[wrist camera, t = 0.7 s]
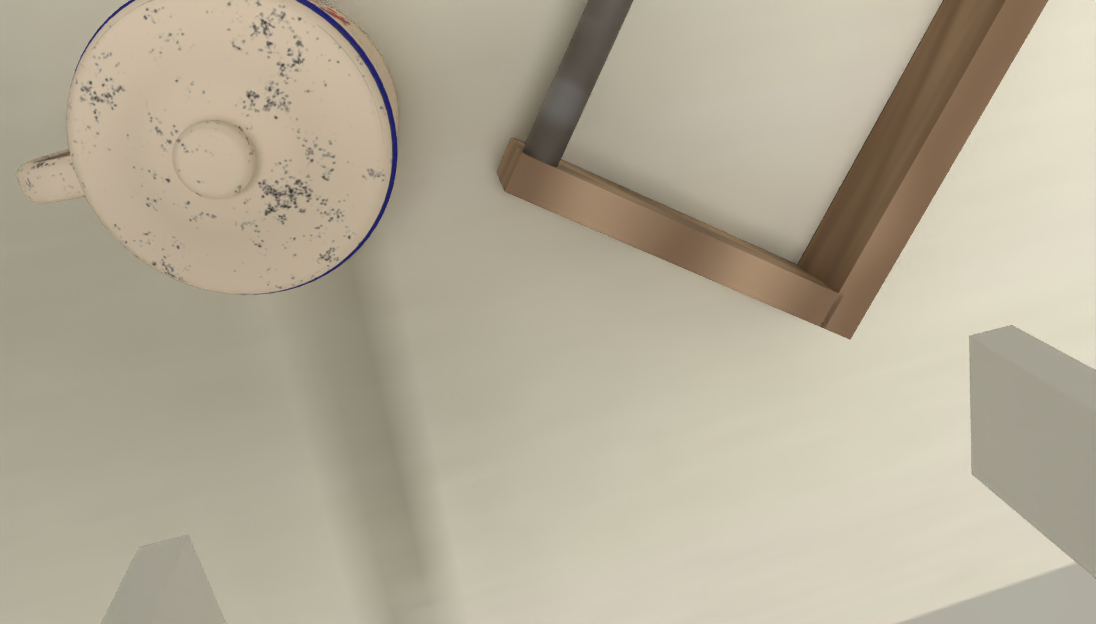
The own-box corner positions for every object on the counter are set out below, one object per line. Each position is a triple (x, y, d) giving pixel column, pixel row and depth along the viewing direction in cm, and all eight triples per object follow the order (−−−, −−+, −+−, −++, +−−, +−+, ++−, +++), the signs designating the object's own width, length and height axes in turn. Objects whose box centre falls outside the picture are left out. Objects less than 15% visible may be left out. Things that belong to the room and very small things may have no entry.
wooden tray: (496, 171, 34) (504, 191, 30) (703, -301, 30) (742, -347, 26) (809, 307, 38) (850, 339, 34) (1034, -94, 33) (1110, -107, 30)
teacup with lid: (368, -40, 31) (334, -68, 20) (431, 199, 34) (431, 287, 23) (39, 31, 30) (-179, 43, 20) (134, 268, 34) (-8, 391, 23)
